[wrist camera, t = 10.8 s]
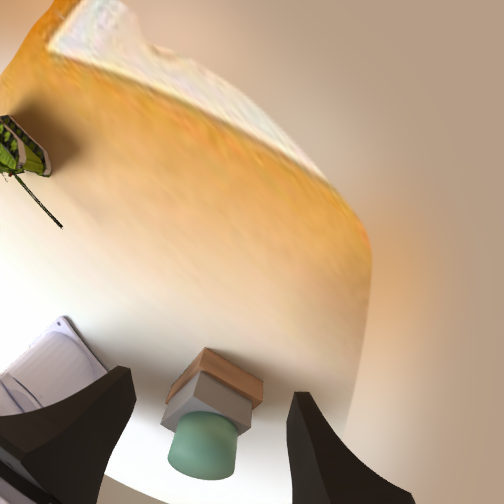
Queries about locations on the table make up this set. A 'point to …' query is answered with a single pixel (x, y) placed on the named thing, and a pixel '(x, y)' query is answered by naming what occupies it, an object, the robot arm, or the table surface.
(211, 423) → the green cylinder
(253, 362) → the table surface
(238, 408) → the gray block
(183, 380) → the walnut block
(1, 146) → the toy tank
